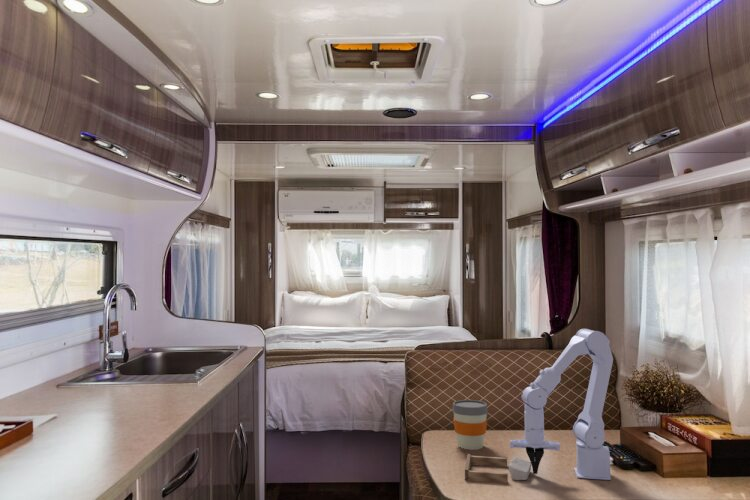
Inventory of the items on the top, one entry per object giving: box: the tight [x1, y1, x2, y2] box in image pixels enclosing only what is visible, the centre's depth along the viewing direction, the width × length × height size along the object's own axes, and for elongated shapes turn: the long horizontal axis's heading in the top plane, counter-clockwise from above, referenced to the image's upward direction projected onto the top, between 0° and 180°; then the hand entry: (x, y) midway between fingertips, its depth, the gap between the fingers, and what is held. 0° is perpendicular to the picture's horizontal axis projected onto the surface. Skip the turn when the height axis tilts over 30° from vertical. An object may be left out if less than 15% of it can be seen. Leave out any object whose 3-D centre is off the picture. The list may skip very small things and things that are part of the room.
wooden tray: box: [464, 453, 509, 484], centre depth 171 cm, size 12×15×3 cm
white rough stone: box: [508, 456, 532, 481], centre depth 169 cm, size 10×6×6 cm, turn 152°
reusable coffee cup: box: [452, 399, 489, 451], centre depth 199 cm, size 12×13×15 cm
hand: (535, 472), depth 168 cm, fingers closed
